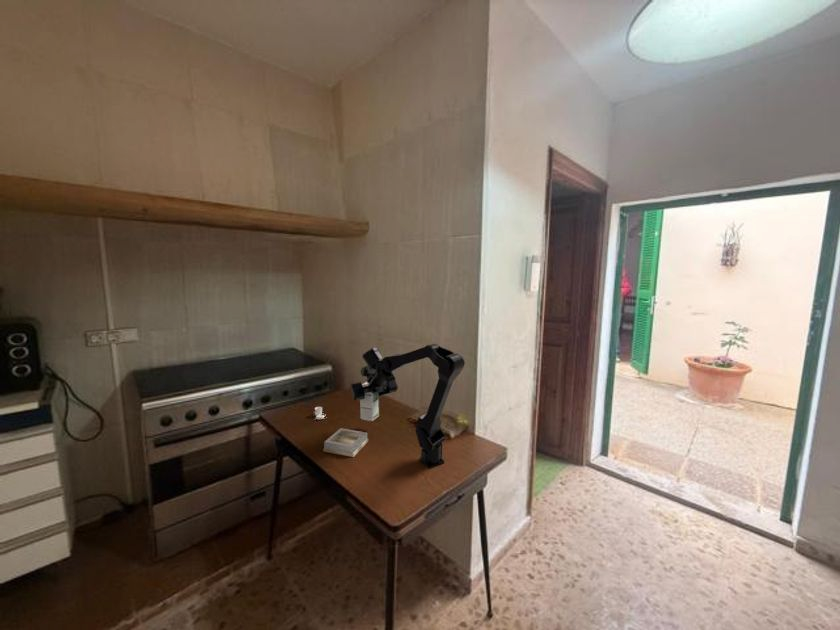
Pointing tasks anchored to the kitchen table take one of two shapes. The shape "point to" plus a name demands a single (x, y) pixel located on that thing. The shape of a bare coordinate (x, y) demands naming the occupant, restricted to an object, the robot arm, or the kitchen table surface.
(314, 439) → the kitchen table surface
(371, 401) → the syrup box
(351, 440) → the white square tray
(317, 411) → the white ring and cylinder
